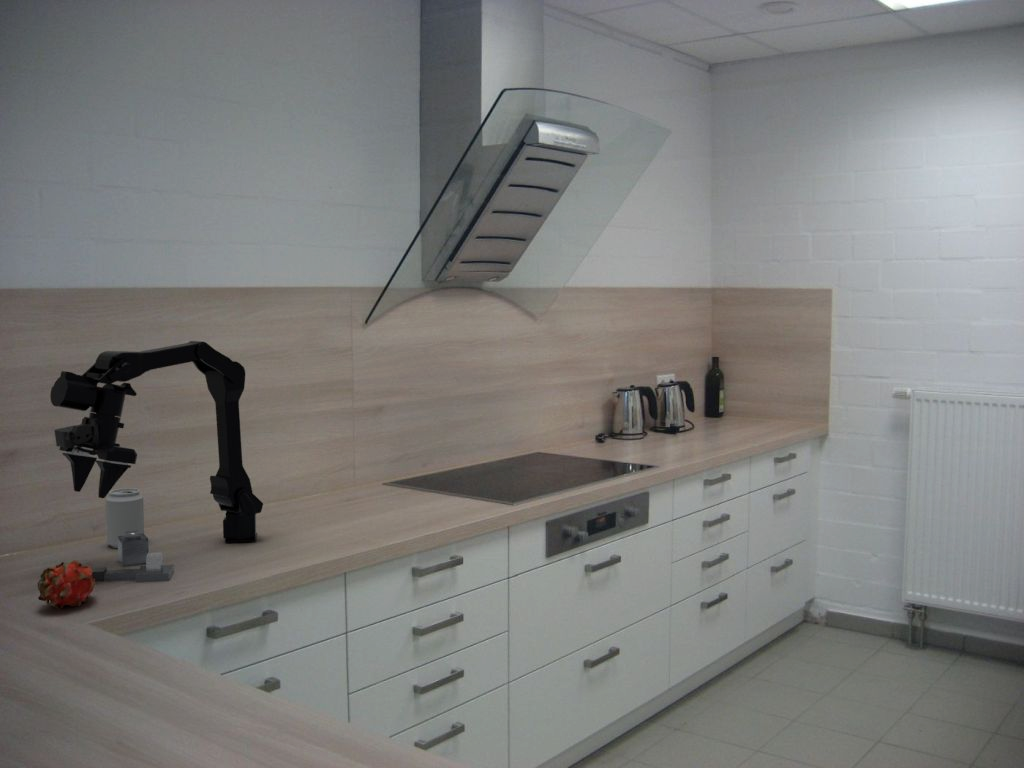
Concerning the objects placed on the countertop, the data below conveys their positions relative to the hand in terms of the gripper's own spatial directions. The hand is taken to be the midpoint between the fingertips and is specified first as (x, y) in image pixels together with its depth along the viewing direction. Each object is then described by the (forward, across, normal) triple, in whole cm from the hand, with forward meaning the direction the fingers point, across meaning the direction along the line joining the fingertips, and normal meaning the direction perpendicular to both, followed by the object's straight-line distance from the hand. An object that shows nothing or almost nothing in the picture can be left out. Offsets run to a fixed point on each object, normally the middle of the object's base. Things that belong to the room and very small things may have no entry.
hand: (88, 494), depth 194 cm
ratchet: (+15, +7, +5) cm, 17 cm away
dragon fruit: (+18, +15, -8) cm, 25 cm away
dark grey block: (+13, -1, +13) cm, 18 cm away
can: (+11, -15, +19) cm, 27 cm away
